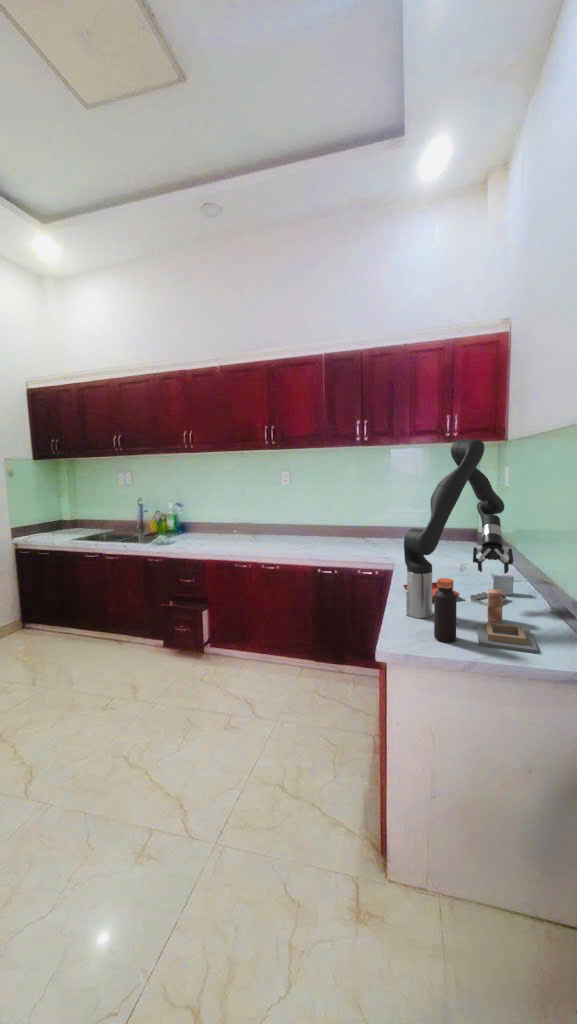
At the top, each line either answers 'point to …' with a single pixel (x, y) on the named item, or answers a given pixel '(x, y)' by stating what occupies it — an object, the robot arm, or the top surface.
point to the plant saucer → (434, 590)
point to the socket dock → (506, 637)
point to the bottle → (445, 611)
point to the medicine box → (502, 583)
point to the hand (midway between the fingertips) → (493, 571)
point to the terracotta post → (494, 606)
